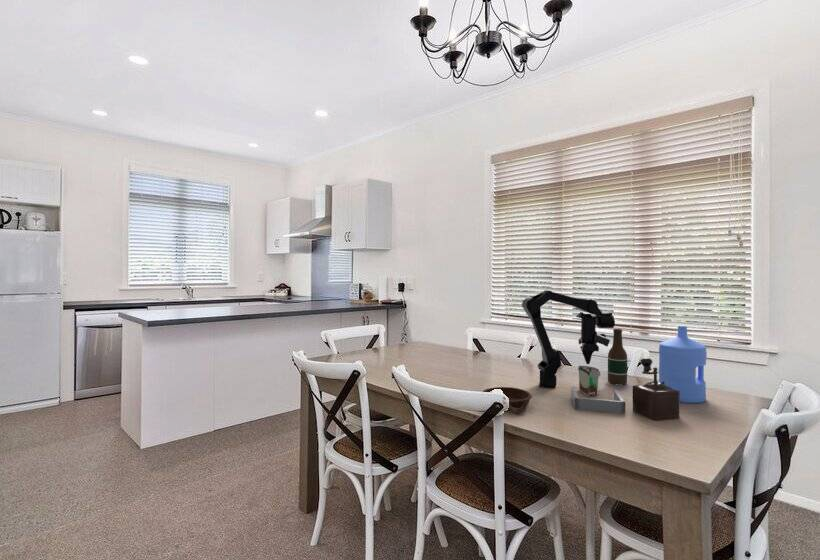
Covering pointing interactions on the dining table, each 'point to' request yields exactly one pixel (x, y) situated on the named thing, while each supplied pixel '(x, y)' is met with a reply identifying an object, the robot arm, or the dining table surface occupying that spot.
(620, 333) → the beer bottle
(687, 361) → the water jug
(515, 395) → the dish
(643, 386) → the manual coffee grinder
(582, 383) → the food container
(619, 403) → the box
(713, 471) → the dining table surface
